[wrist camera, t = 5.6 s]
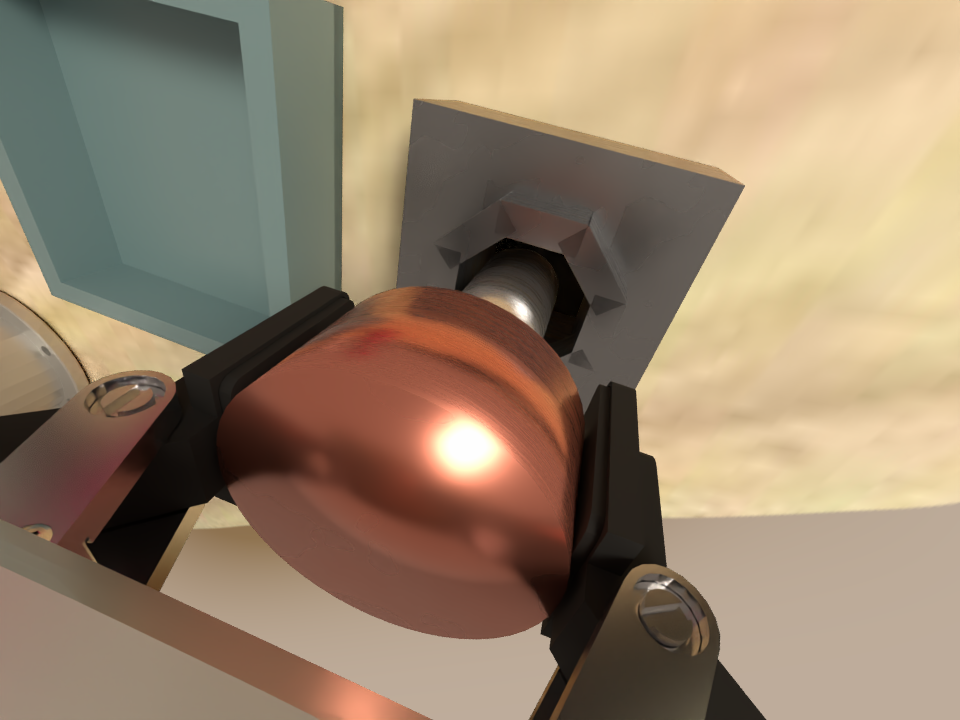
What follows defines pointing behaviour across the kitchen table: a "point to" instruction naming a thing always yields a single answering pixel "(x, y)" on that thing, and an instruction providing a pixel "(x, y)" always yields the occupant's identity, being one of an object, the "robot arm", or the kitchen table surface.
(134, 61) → the tray
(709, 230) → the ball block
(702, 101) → the kitchen table surface
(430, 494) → the rounded copper knob
